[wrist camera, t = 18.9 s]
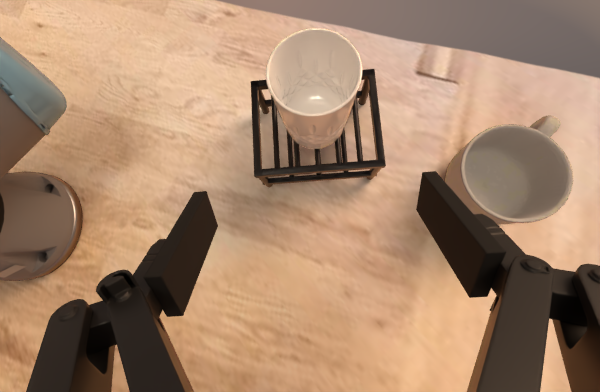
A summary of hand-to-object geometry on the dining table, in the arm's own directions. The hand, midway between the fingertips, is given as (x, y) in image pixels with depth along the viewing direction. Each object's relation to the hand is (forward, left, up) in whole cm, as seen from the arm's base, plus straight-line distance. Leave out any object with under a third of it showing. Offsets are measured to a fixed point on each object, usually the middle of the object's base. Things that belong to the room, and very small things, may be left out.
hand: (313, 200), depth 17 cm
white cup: (+1, +11, -14) cm, 18 cm away
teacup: (+23, +4, -21) cm, 31 cm away
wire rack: (+1, +11, -21) cm, 23 cm away
